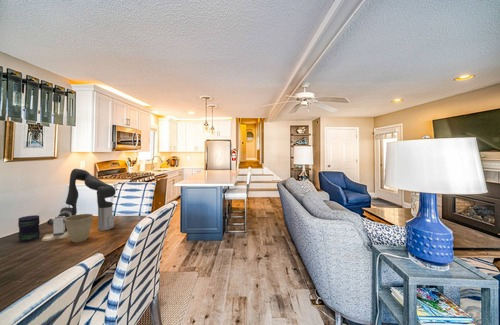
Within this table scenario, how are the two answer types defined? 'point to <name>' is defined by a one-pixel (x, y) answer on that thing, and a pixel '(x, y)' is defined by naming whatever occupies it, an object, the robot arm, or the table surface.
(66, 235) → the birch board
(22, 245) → the table surface
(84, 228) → the plant pot
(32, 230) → the storage jar
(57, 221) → the aluminium block
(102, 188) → the robot arm
